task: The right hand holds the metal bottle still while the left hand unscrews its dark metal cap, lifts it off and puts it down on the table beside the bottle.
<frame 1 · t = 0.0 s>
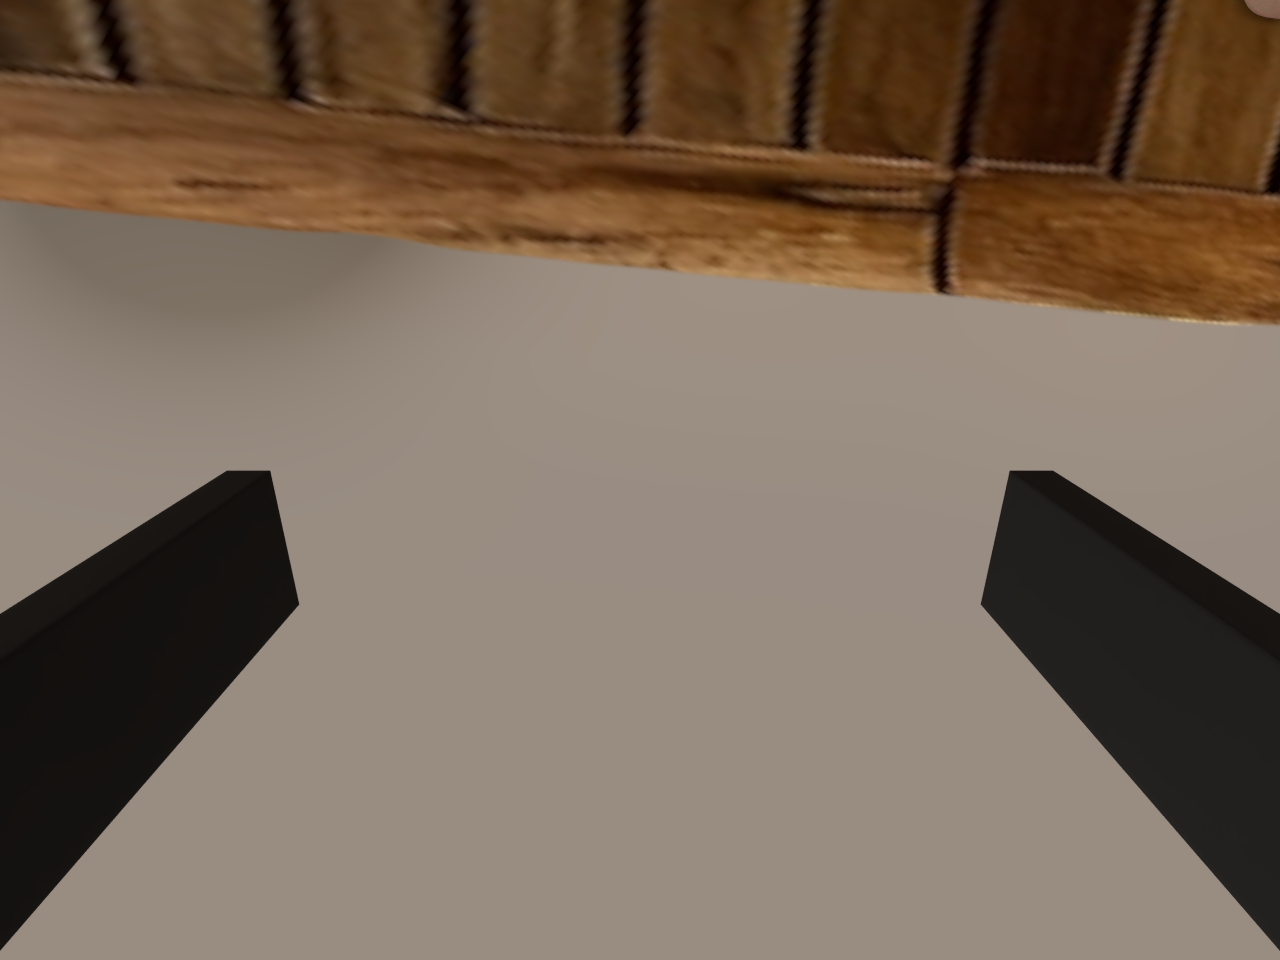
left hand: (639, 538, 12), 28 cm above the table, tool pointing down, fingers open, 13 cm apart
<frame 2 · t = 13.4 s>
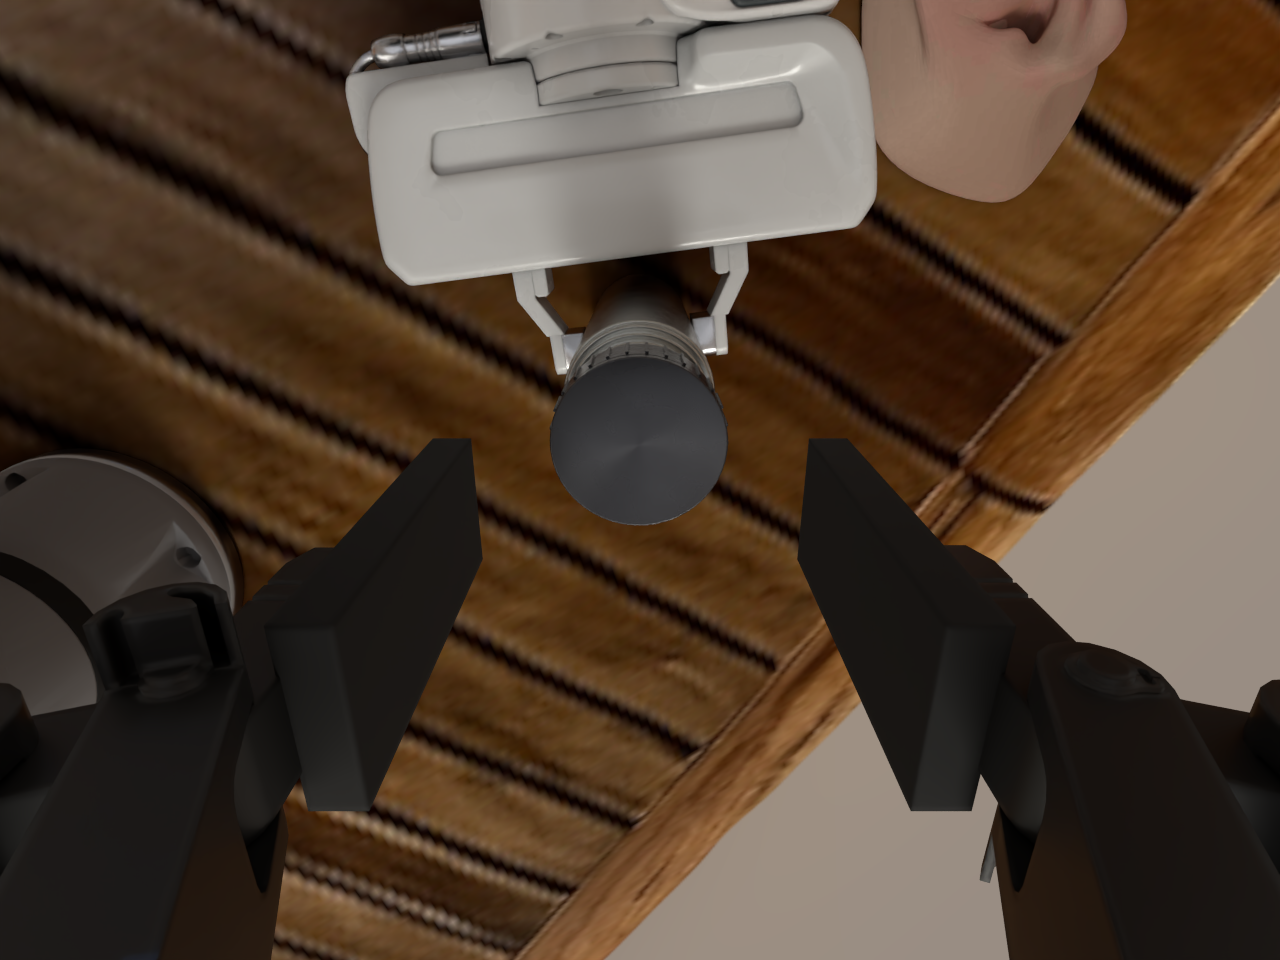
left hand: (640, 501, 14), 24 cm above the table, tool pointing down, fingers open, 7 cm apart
right hand: (643, 362, 31), fingers closed on bottle, 5 cm apart
anatomical model: (975, 48, 32), on the table
bottle: (639, 320, 36), on the table, touching right hand
cap: (638, 441, 17), point 20 cm above the table, screwed on, not yet turned
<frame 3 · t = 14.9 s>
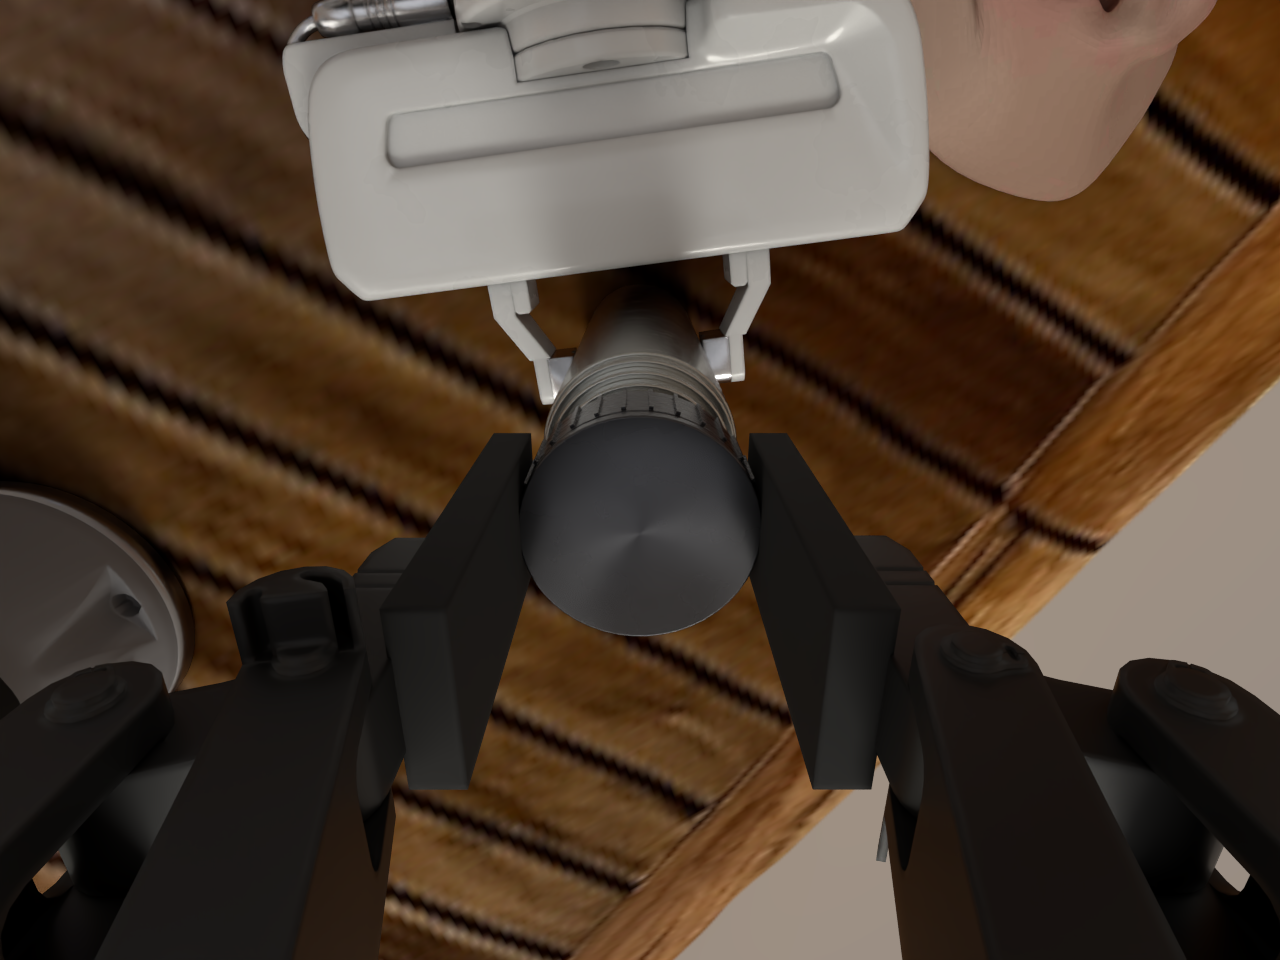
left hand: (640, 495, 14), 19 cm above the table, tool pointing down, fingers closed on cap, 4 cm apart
right hand: (644, 389, 26), fingers closed on bottle, 5 cm apart
anatomical model: (1033, 20, 27), on the table
bottle: (640, 337, 32), on the table, touching right hand
cap: (640, 526, 13), point 20 cm above the table, screwed on, not yet turned, touching left hand
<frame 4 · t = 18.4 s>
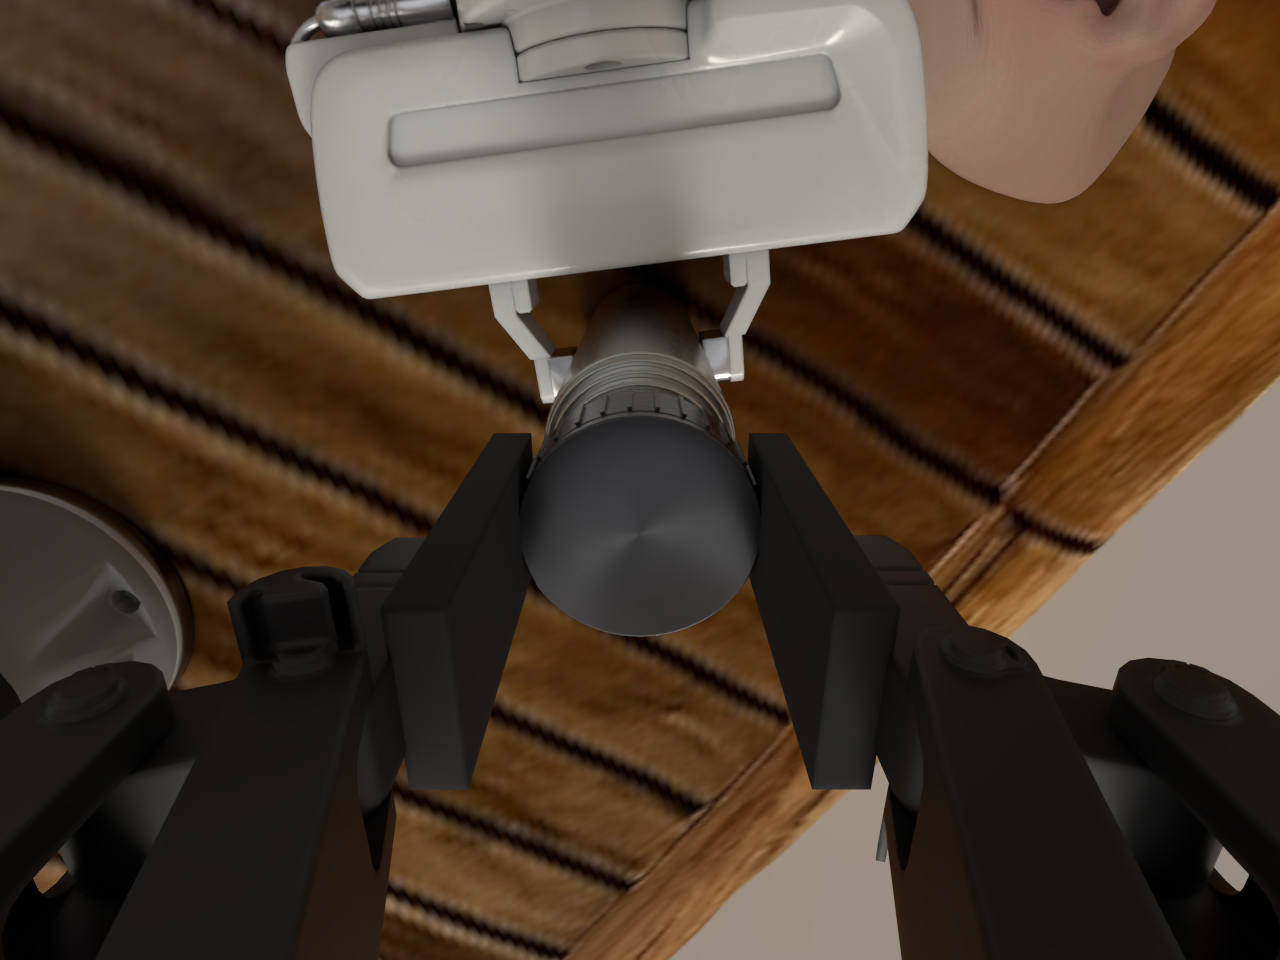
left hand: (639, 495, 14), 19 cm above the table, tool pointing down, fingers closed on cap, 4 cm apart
right hand: (643, 388, 26), fingers closed on bottle, 5 cm apart
anatomical model: (1033, 23, 27), on the table
bottle: (640, 337, 32), on the table, touching right hand
cap: (640, 527, 13), point 21 cm above the table, turned 109° so far, risen 0.1 cm, still on its thread, touching left hand
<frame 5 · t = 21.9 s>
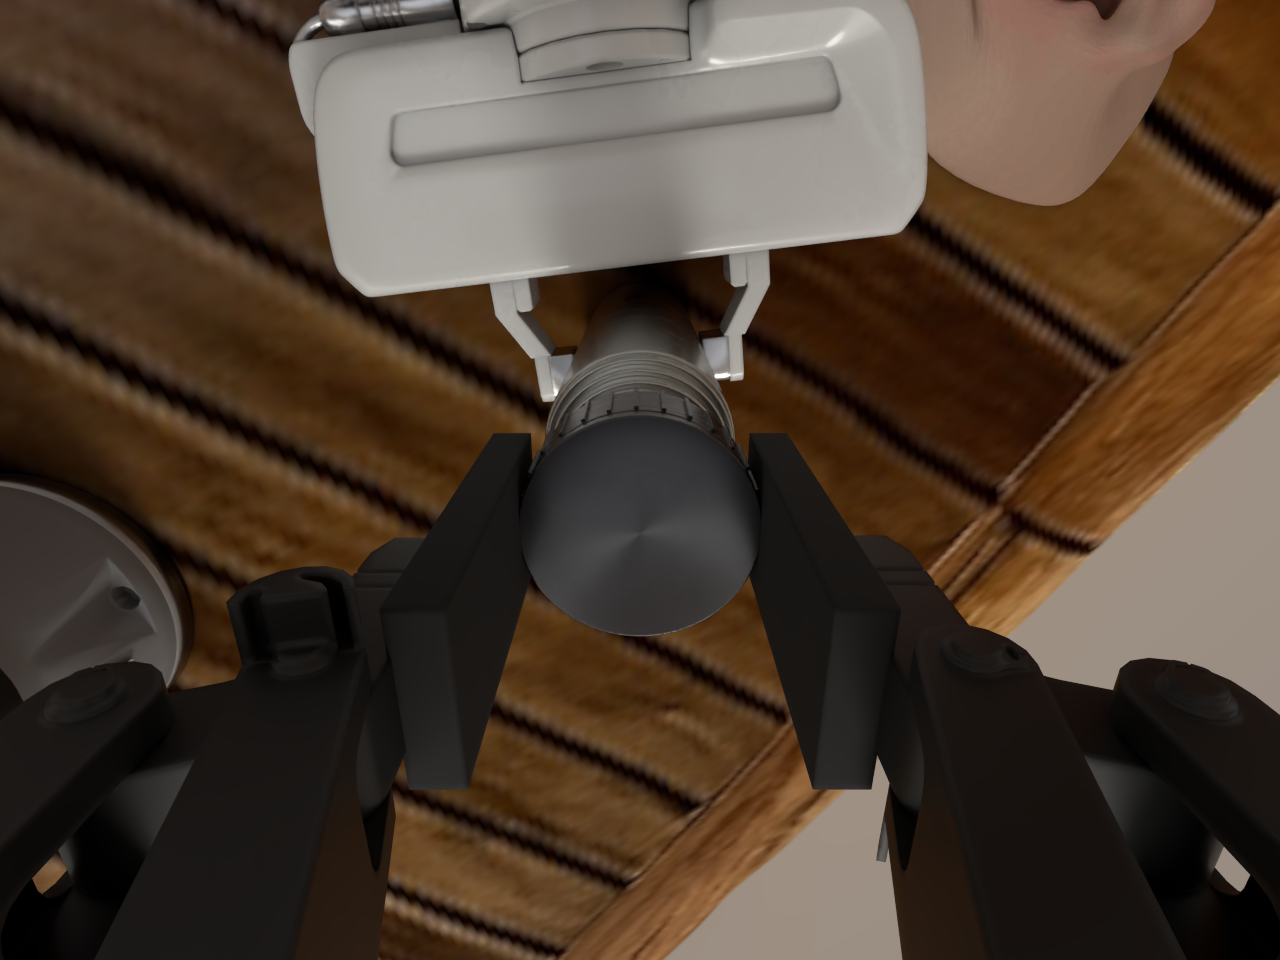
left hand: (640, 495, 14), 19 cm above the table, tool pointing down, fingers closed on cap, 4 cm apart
right hand: (643, 387, 26), fingers closed on bottle, 5 cm apart
anatomical model: (1032, 26, 27), on the table
bottle: (640, 336, 32), on the table, touching right hand
cap: (640, 526, 13), point 21 cm above the table, turned 218° so far, risen 0.3 cm, still on its thread, touching left hand
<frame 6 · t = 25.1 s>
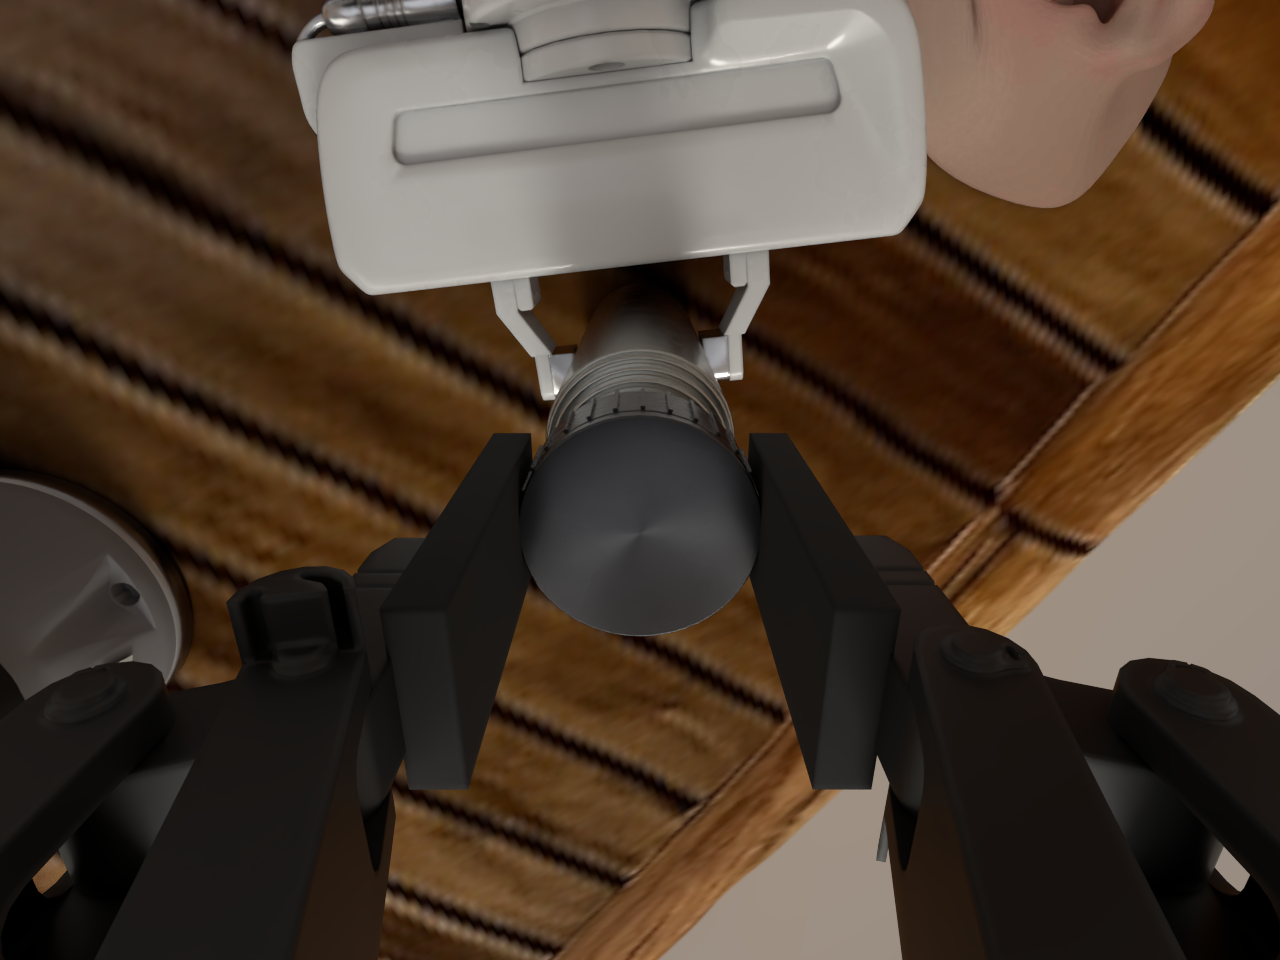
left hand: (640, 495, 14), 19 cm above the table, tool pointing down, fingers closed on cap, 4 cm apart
right hand: (643, 387, 26), fingers closed on bottle, 5 cm apart
anatomical model: (1031, 30, 28), on the table
bottle: (640, 335, 32), on the table, touching right hand
cap: (640, 526, 13), point 21 cm above the table, turned 327° so far, risen 0.4 cm, still on its thread, touching left hand
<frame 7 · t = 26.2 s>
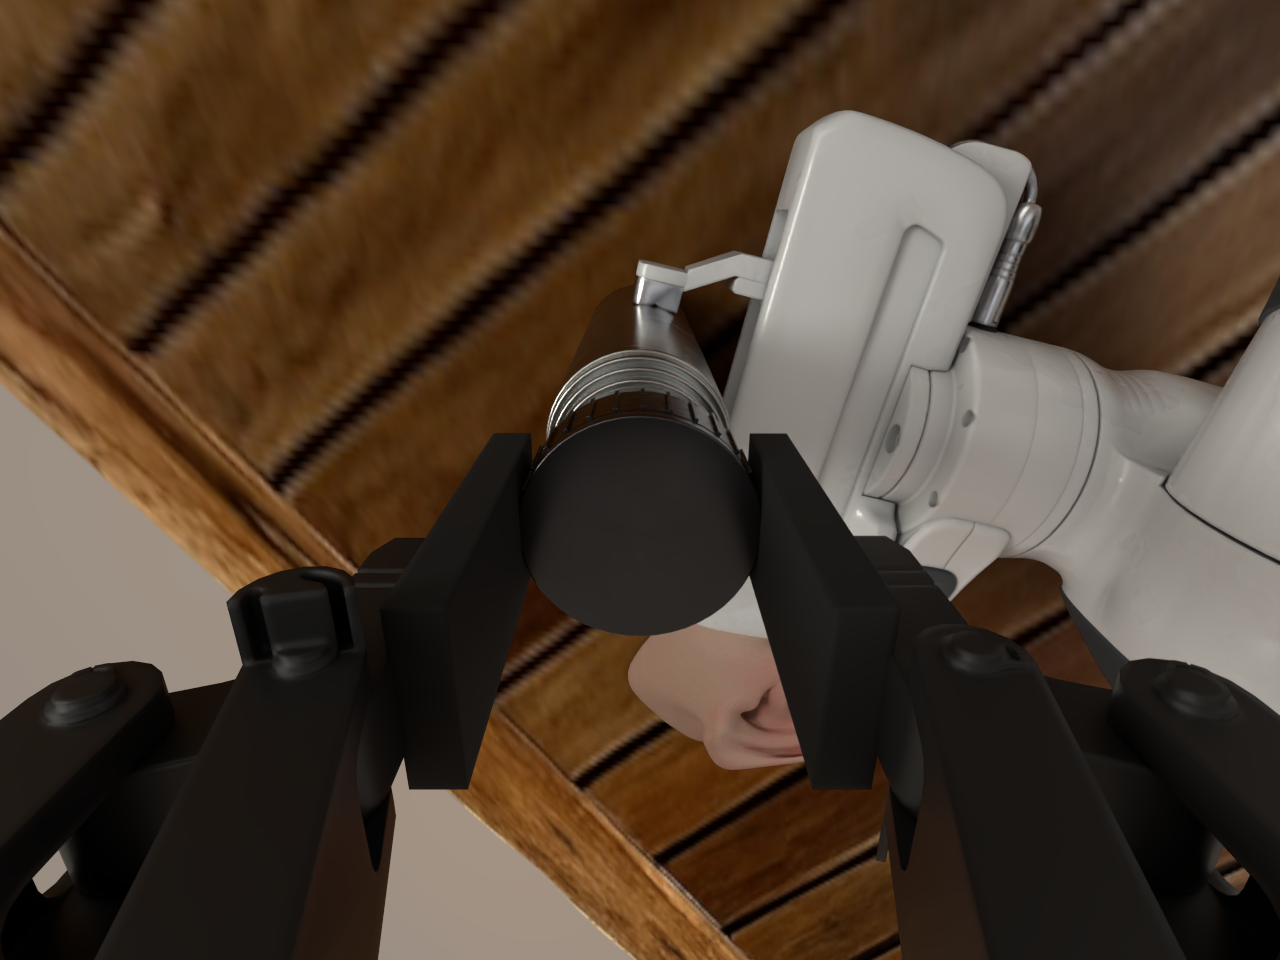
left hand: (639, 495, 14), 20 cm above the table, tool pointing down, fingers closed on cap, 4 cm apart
right hand: (616, 361, 26), fingers closed on bottle, 5 cm apart
anatomical model: (749, 667, 39), on the table
bottle: (639, 337, 32), on the table, touching right hand
cap: (640, 526, 13), point 21 cm above the table, off its thread, touching left hand
when the left hand's fingers open (1 cm above the table, at t = 32.5 s): cap stays where it is, point 1 cm above the table.
when the right hand's fingers open (6 cm above the table, at t = 33.8 s): bottle stays where it is, on the table.
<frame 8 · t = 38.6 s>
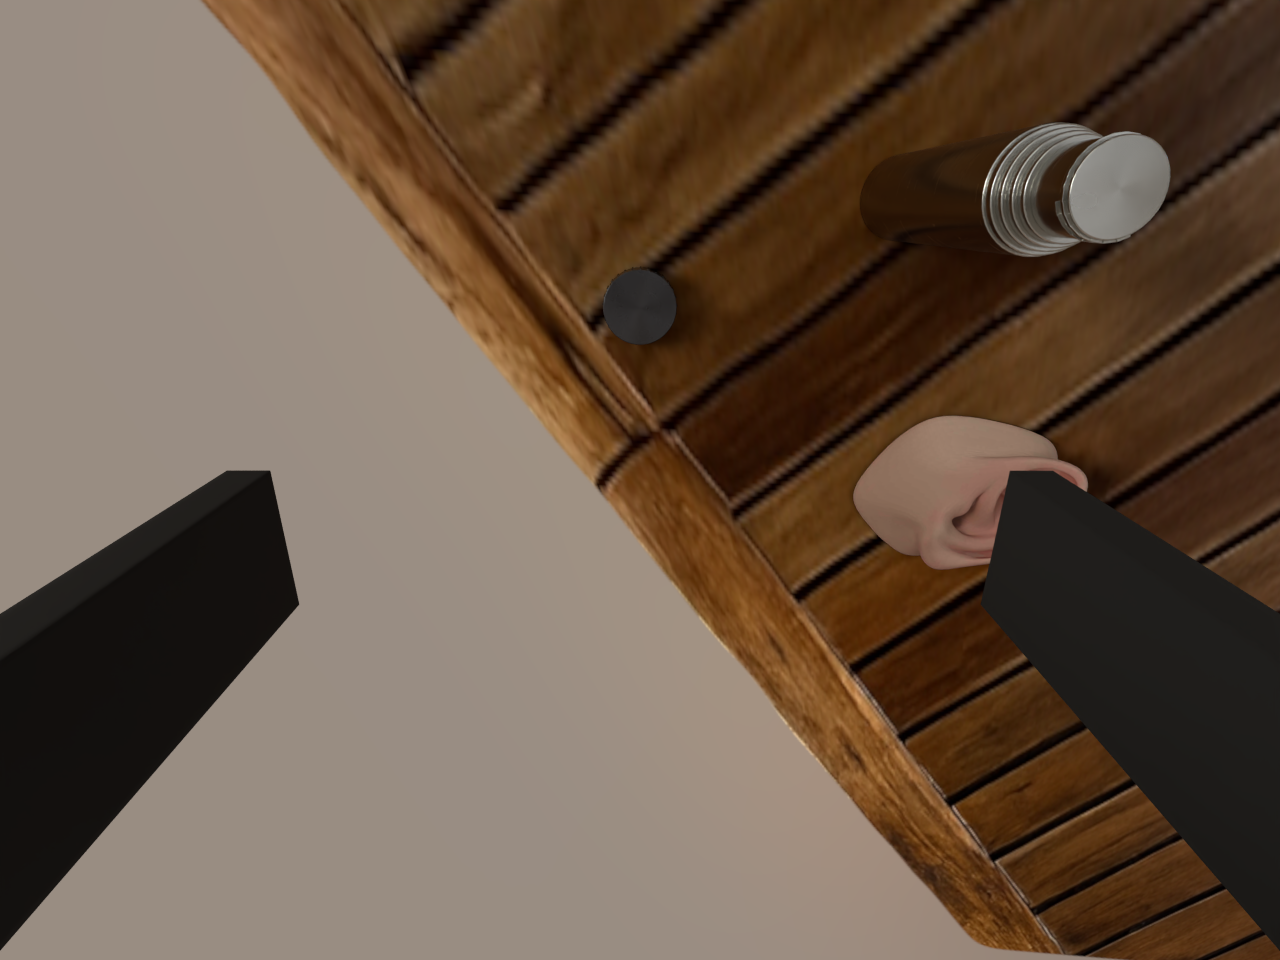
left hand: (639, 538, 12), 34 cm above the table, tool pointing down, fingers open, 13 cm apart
anatomical model: (951, 488, 48), on the table
bottle: (900, 198, 41), on the table
cap: (639, 307, 42), point 1 cm above the table, off its thread
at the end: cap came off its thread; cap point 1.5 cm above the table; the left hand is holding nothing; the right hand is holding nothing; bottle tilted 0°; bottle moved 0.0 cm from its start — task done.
